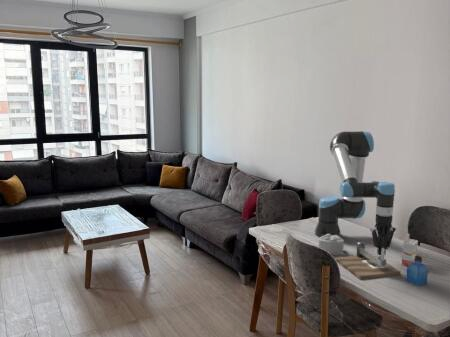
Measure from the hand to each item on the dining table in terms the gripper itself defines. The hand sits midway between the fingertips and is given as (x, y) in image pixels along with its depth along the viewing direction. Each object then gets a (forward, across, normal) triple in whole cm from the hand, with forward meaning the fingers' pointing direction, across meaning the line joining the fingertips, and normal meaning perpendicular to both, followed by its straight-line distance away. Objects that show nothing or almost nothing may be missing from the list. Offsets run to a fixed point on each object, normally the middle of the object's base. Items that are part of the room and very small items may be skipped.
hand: (380, 260), depth 201 cm
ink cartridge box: (+5, +19, +3) cm, 19 cm away
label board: (+4, -5, +4) cm, 8 cm away
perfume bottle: (+5, +8, -16) cm, 19 cm away
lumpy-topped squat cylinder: (+5, -12, +28) cm, 31 cm away
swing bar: (+2, -2, +5) cm, 6 cm away
